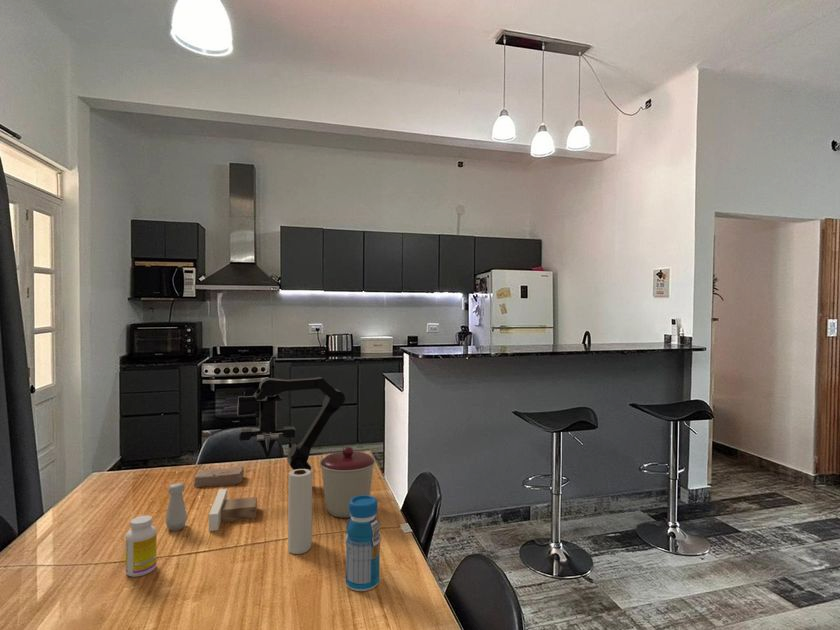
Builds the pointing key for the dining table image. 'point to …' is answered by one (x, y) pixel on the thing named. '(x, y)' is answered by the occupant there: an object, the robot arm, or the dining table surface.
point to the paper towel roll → (300, 511)
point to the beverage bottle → (362, 544)
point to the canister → (345, 479)
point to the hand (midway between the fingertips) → (267, 457)
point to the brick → (219, 477)
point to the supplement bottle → (140, 547)
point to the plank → (217, 510)
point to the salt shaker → (176, 508)
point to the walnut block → (239, 509)
